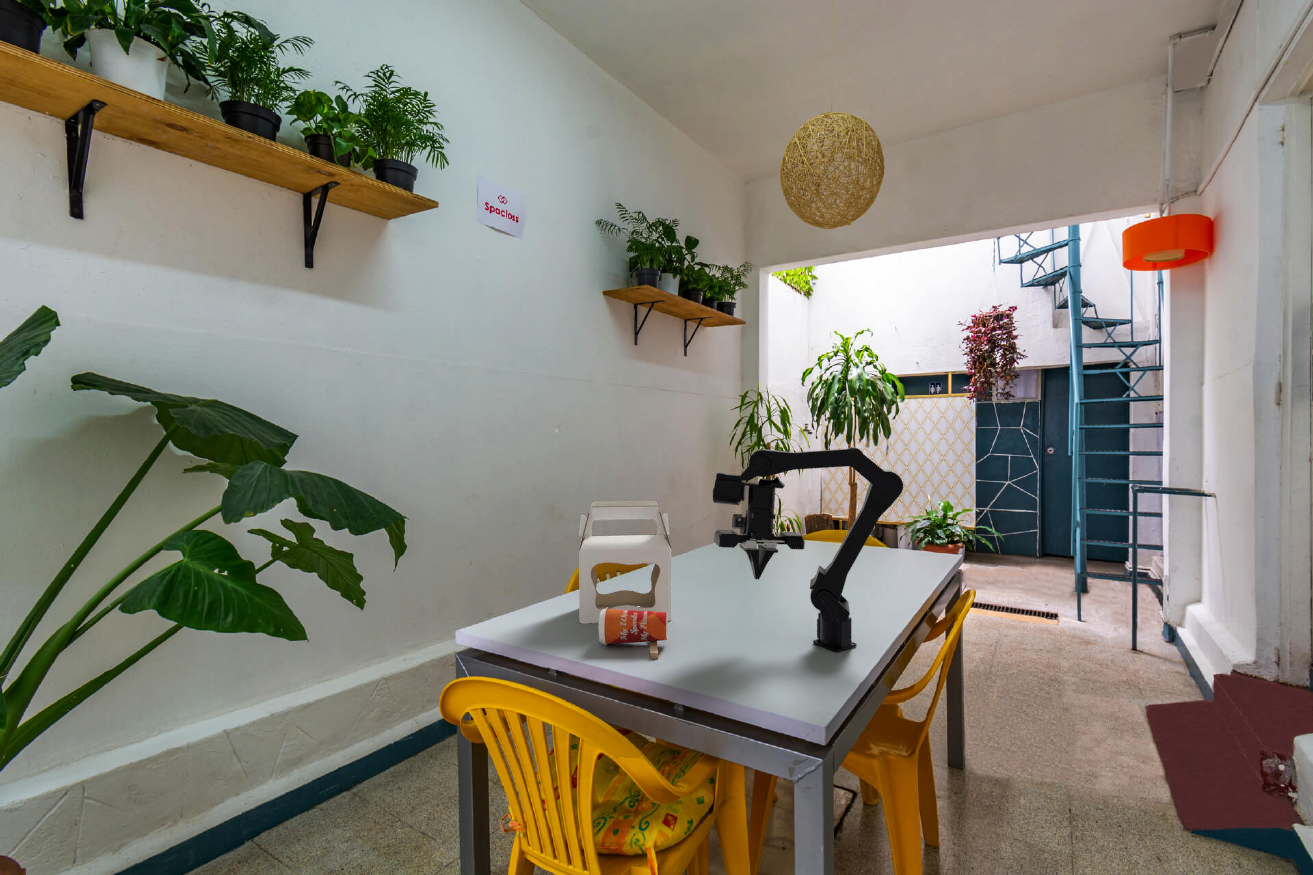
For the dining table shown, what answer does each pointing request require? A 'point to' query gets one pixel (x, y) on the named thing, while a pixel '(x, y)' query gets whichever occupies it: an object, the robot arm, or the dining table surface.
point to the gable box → (624, 559)
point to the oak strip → (653, 650)
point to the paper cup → (632, 626)
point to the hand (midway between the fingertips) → (756, 578)
